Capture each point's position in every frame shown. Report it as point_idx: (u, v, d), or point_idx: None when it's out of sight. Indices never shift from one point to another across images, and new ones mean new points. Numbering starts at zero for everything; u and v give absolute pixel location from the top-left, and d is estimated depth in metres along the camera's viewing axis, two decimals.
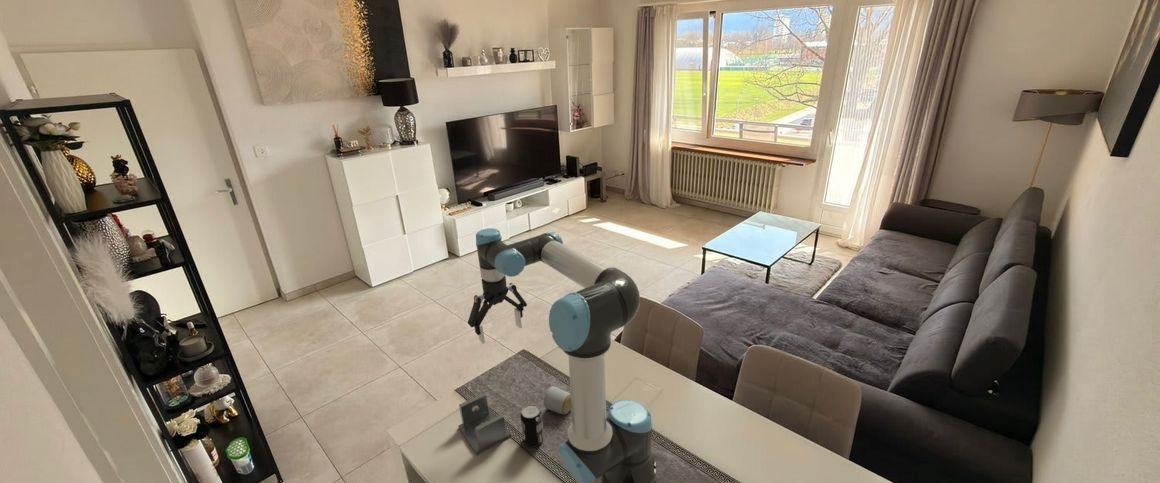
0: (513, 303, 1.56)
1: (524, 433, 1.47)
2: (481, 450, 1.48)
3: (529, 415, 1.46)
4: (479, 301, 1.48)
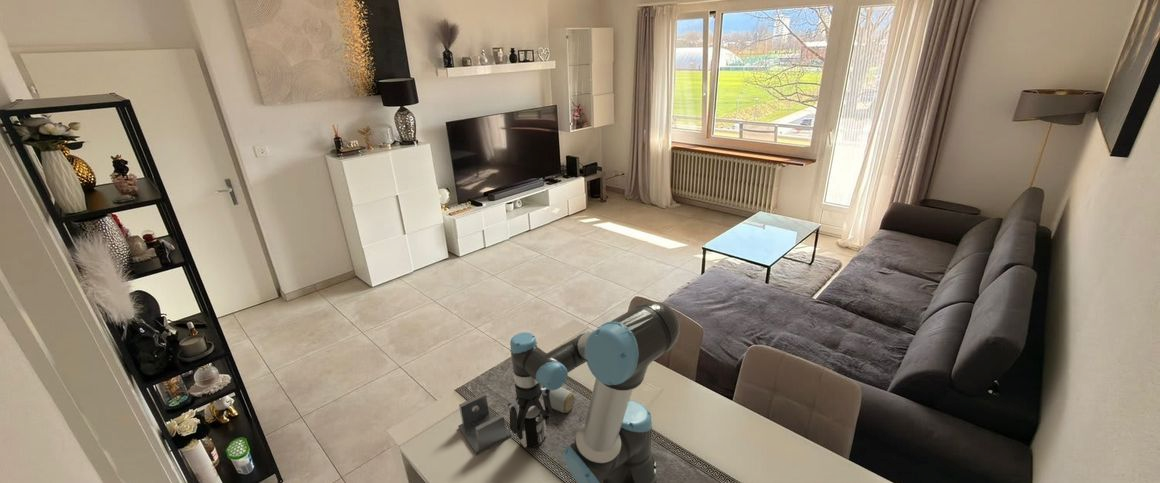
0: (541, 409, 1.48)
1: None
2: (481, 450, 1.48)
3: (529, 415, 1.46)
4: (514, 410, 1.41)
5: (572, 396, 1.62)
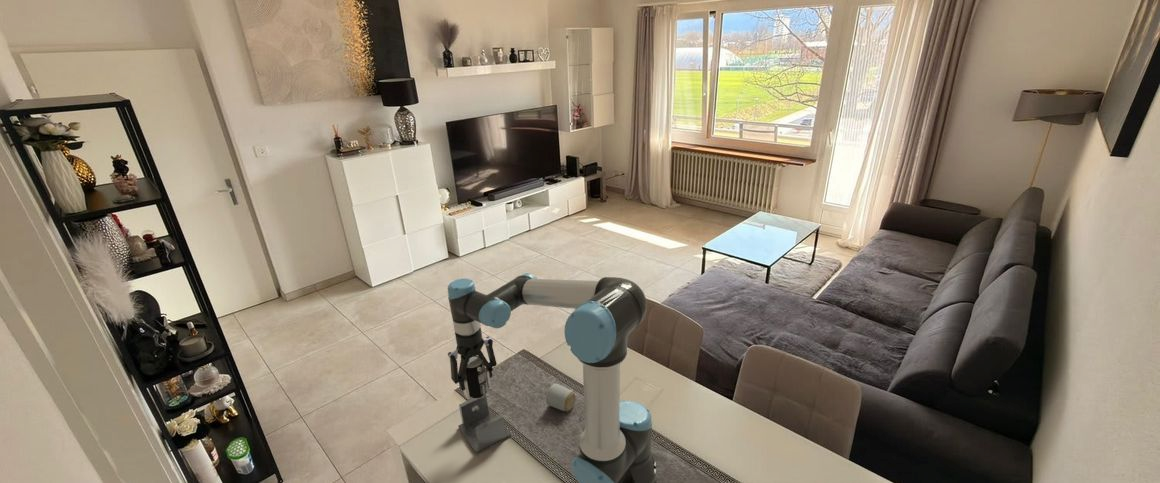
0: (484, 360, 1.46)
1: None
2: (481, 450, 1.48)
3: (471, 365, 1.43)
4: (453, 358, 1.39)
5: (573, 395, 1.62)
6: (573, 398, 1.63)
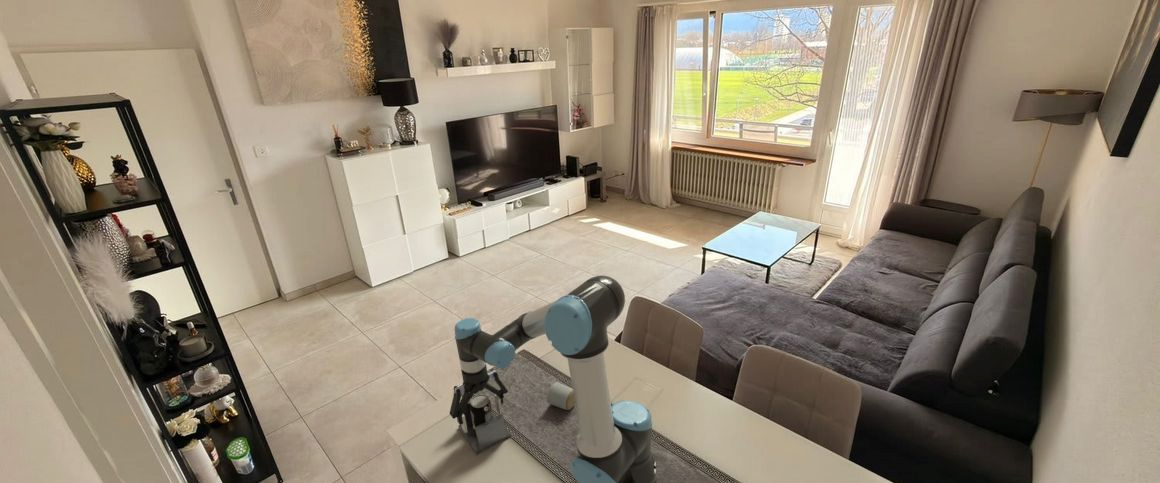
0: (493, 391, 1.51)
1: (473, 422, 1.51)
2: (481, 450, 1.48)
3: (478, 405, 1.49)
4: (459, 393, 1.43)
5: None
6: None
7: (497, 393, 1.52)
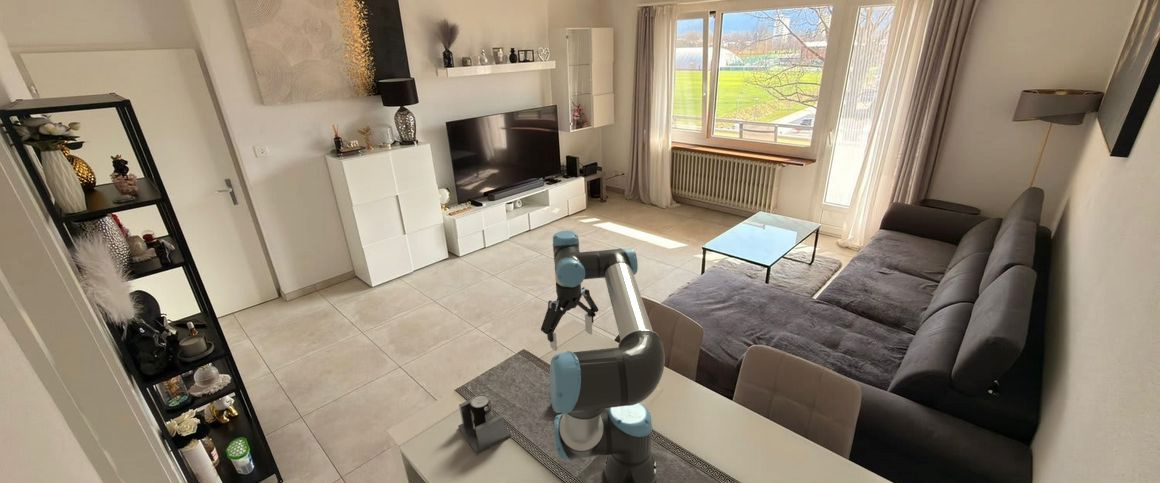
0: (585, 308, 1.49)
1: (473, 422, 1.51)
2: (481, 450, 1.48)
3: (478, 405, 1.49)
4: (554, 307, 1.41)
5: None
6: None
7: (589, 311, 1.50)
